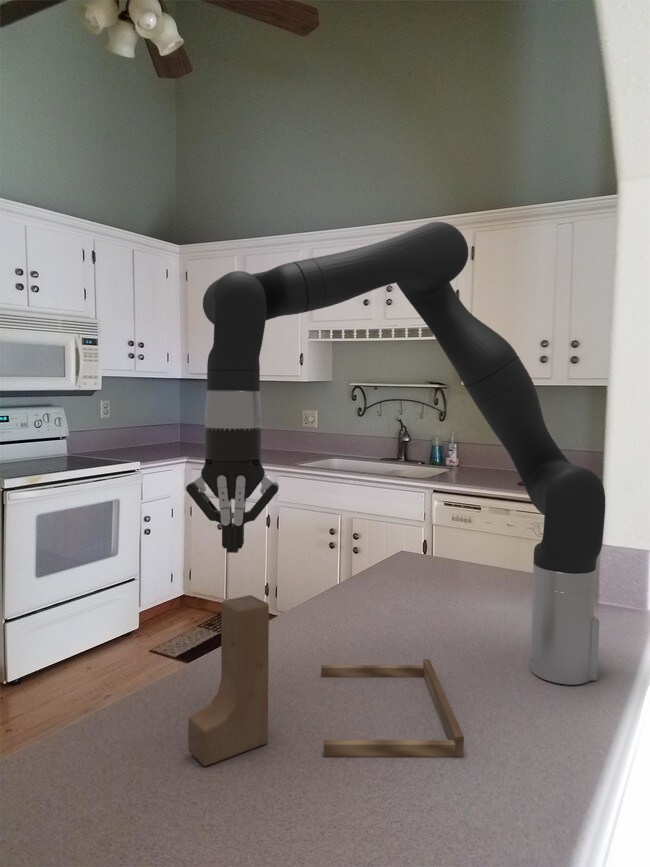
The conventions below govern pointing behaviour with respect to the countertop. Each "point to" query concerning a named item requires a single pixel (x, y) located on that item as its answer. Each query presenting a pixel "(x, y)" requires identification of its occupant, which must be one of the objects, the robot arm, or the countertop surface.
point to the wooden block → (236, 686)
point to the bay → (400, 747)
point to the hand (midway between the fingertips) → (232, 551)
